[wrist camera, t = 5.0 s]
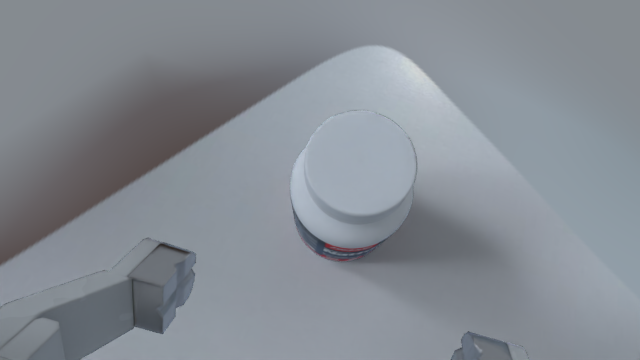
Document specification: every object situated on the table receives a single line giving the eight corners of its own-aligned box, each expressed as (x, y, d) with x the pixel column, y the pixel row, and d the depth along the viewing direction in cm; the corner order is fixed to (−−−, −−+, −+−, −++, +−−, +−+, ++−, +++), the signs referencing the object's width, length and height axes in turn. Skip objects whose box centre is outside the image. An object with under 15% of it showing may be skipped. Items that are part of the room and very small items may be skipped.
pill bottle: (317, 277, 20) (320, 263, 12) (281, 193, 22) (260, 125, 13) (402, 238, 21) (463, 198, 12) (362, 159, 22) (392, 75, 14)
